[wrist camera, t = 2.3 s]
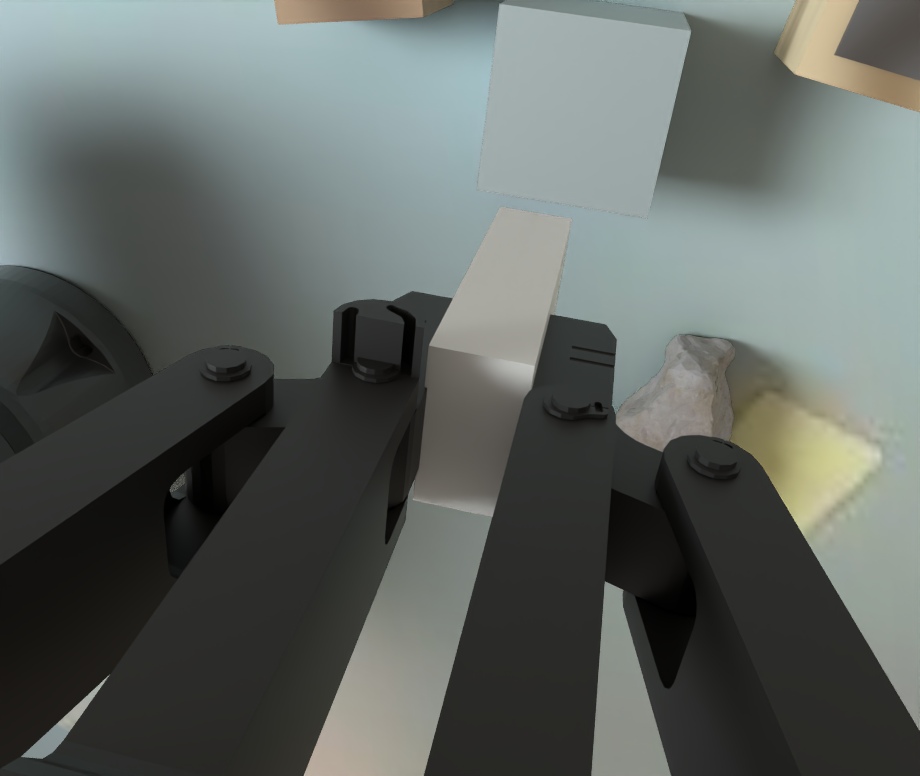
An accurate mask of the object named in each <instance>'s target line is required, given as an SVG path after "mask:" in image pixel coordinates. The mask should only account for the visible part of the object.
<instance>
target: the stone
mask: <svg viewBox="0 0 920 776" xmlns="http://www.w3.org/2000/svg"><path fill="white" fill-rule="evenodd" d="M665 358H666V360H665V363H664V365H663V367H662V368H661V369H660V371H659V373H658V374H657V375H656V376H655V377H652V378H651V379H650V381H649V383H648V384H647V385H646V386H644V387H641V388H640V389H639V390H638V391H637V392H636V393H634V394H633V395H632V396H631V397H629V398H628V399H627V400H626V401H625V402H624V403H623V404H622V406H621V407H620V409H619V411H618V413H617V414H616V424H617V426H618V427H619V428H620V429H621V430H622V431H623V432H624V433H626V434H627V435H629V436H630V437H632V438H633V439H635V440H636V441H638V442H640V443H643V444H645V445H647V446H649V447H651V448H654V449H656V450H659V451H661V452H663V450H664V448H665V447H666V445H667V444H668V443H669V441H670V440H673V439H675V438H678V437H680V436H686V435H703V436H709V437H717V438H721V439H724V441H726V440H727V441H729V440H730V437H731V433H732V423H733V421H734V415H733V411H732V407H731V404H732V402H731V399H730V394H729V387H728V383H727V380H726V377H725V369H726V368H727V367H728V366H729V365H730V362H731V361H732V360H734V358H735V348H734V347H733V345H732V344H731V343H730V342H729V341H727V340H725V339H720V338H710V339H709V338H703V337H697V336H692V335H685V336H684V335H682V334H680V335H677V336H675V337H674V338H673V339H672V340H671V341H670V343H669V344H668V345H667V347H666V352H665Z"/></svg>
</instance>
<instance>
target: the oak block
mask: <svg viewBox="0 0 920 776" xmlns="http://www.w3.org/2000/svg"><path fill="white" fill-rule="evenodd" d="M774 54H775V55H776V56H777V57H778V58H779V59H780V60H781V61H782V62H783V63H784V64H785V65H786V66H787V67H788V68H789V69H790V70H791V71H792V72H793V73H794V74H795V75H798V76H802V77H805V78H808V79H812V80H815V81H818V82H822V83H825V84H828V85H831V86H835V87H838V88H841V89H845V90H848V91H851V92H855V93H858V94H861V95H865V96H868V97H871V98H874V99H878V100H881V101H884V102H888V103H891V104H894V105H898V106H901V107H904V108H907V109H911V110H914V111H917V112H920V0H796V1H795V4H794V6H793V8H792V11H791V13H790V15H789V18H788V20H787V22H786V25H785V27H784V30H783V32H782V34H781V37H780V39H779V41H778V44H777V46H776V48H775V51H774Z"/></svg>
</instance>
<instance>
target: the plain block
mask: <svg viewBox="0 0 920 776" xmlns="http://www.w3.org/2000/svg"><path fill="white" fill-rule="evenodd" d="M690 35H691V29H690V27H689V24H688V22H687V20H686V18H685V15H684V13H681V12H674V11H667V10H660V9H652V8H645V7H638V6H631V5H624V4H617V3H609V2H602V1H595V0H505V1H504V2H502V3H500V4H499V12H498V20H497V28H496V36H495V45H494V53H493V61H492V69H491V77H490V85H489V94H488V102H487V110H486V118H485V126H484V134H483V143H482V151H481V159H480V167H479V175H478V183H477V190H479V191H485V192H491V193H497V194H503V195H509V196H515V197H521V198H527V199H533V200H539V201H545V202H551V203H557V204H563V205H569V206H575V207H581V208H587V209H593V210H599V211H605V212H611V213H617V214H623V215H629V216H635V217H641V218H647V219H648V215H649V211H650V207H651V202H652V198H653V194H654V189H655V185H656V181H657V177H658V172H659V168H660V164H661V159H662V155H663V151H664V146H665V142H666V138H667V133H668V129H669V125H670V121H671V116H672V112H673V108H674V103H675V99H676V95H677V90H678V86H679V82H680V78H681V73H682V69H683V65H684V60H685V56H686V52H687V47H688V43H689V39H690Z"/></svg>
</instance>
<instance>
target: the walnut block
mask: <svg viewBox="0 0 920 776" xmlns="http://www.w3.org/2000/svg"><path fill="white" fill-rule="evenodd" d="M274 1H275V8H276V15H277V21H278V24H298V23H318V22H338V21H358V20H378V19H398V18H419V17H425V16H427V15H430V14H432V13H434V12H436V11H439V10H441V9H443V8H446V7H448V6H450V5H452V4H453V0H274Z"/></svg>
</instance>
